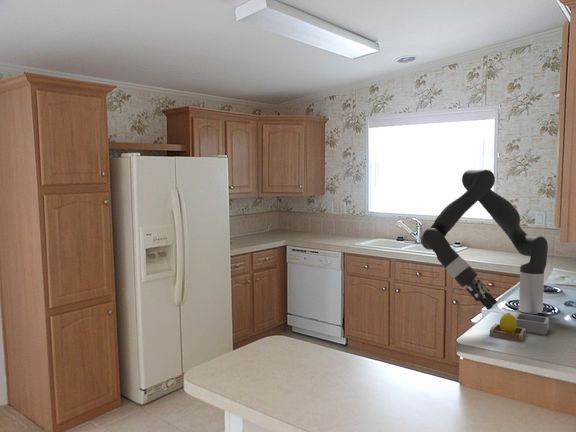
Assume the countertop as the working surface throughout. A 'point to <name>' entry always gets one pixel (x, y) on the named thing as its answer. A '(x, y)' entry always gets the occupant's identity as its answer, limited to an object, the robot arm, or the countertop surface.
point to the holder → (533, 323)
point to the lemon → (508, 323)
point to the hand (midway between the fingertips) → (492, 306)
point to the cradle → (508, 335)
